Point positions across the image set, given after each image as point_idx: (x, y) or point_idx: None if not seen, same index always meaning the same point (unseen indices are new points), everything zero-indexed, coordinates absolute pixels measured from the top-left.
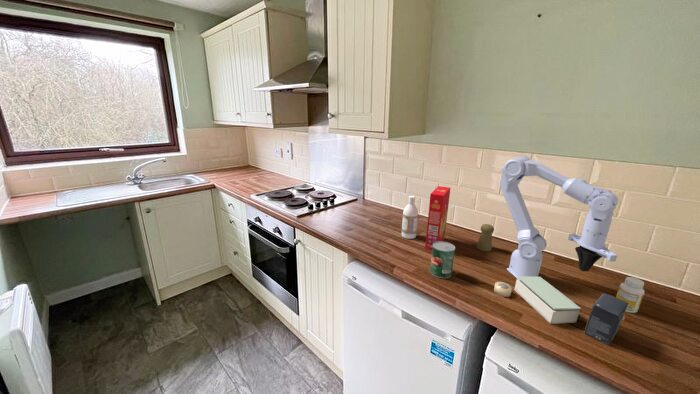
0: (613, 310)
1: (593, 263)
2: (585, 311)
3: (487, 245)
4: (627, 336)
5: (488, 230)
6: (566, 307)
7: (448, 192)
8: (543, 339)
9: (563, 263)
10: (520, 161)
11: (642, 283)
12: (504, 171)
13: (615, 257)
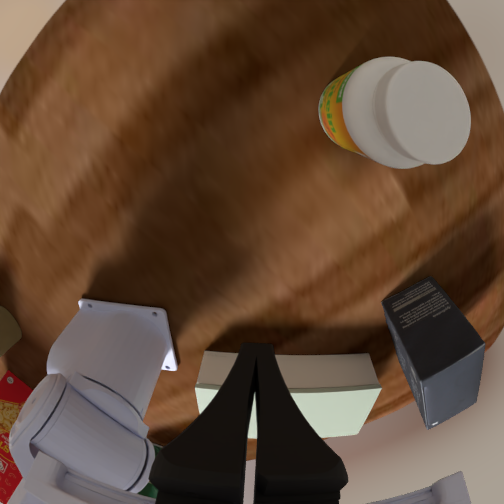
0: (464, 404)
1: (288, 396)
2: (343, 296)
3: (8, 339)
4: (449, 269)
5: None
6: (364, 415)
7: None
8: (373, 420)
9: (28, 113)
10: None
11: (465, 108)
12: None
13: (462, 500)
